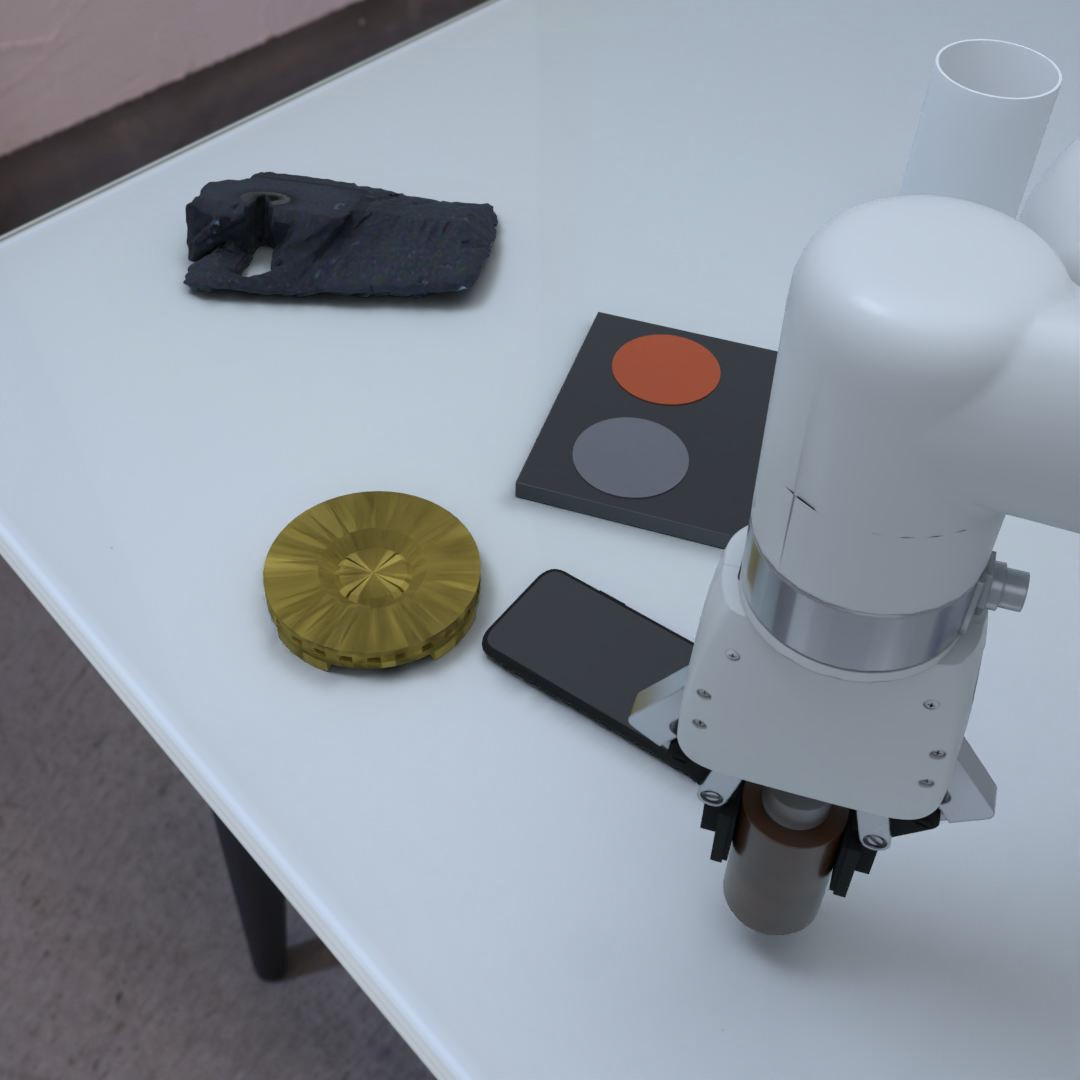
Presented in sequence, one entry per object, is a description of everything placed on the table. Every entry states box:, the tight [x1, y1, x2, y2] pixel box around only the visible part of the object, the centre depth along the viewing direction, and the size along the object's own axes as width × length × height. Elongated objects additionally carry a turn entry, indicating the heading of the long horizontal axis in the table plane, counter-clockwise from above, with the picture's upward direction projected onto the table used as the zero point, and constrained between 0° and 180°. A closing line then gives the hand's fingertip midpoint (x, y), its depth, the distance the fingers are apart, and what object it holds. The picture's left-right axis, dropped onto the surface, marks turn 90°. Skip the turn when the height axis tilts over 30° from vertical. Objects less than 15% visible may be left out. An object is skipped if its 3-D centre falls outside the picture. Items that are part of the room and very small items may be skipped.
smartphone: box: [481, 568, 694, 773], centre depth 70 cm, size 7×1×15 cm
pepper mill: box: [722, 780, 850, 937], centre depth 56 cm, size 4×4×9 cm
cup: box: [898, 38, 1063, 219], centre depth 92 cm, size 8×8×16 cm
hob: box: [514, 311, 778, 550], centre depth 83 cm, size 24×18×1 cm
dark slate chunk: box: [182, 171, 499, 299], centre depth 95 cm, size 15×22×5 cm
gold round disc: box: [262, 490, 482, 672], centre depth 74 cm, size 12×12×2 cm
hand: (783, 847), depth 56 cm, fingers closed on pepper mill, 4 cm apart
